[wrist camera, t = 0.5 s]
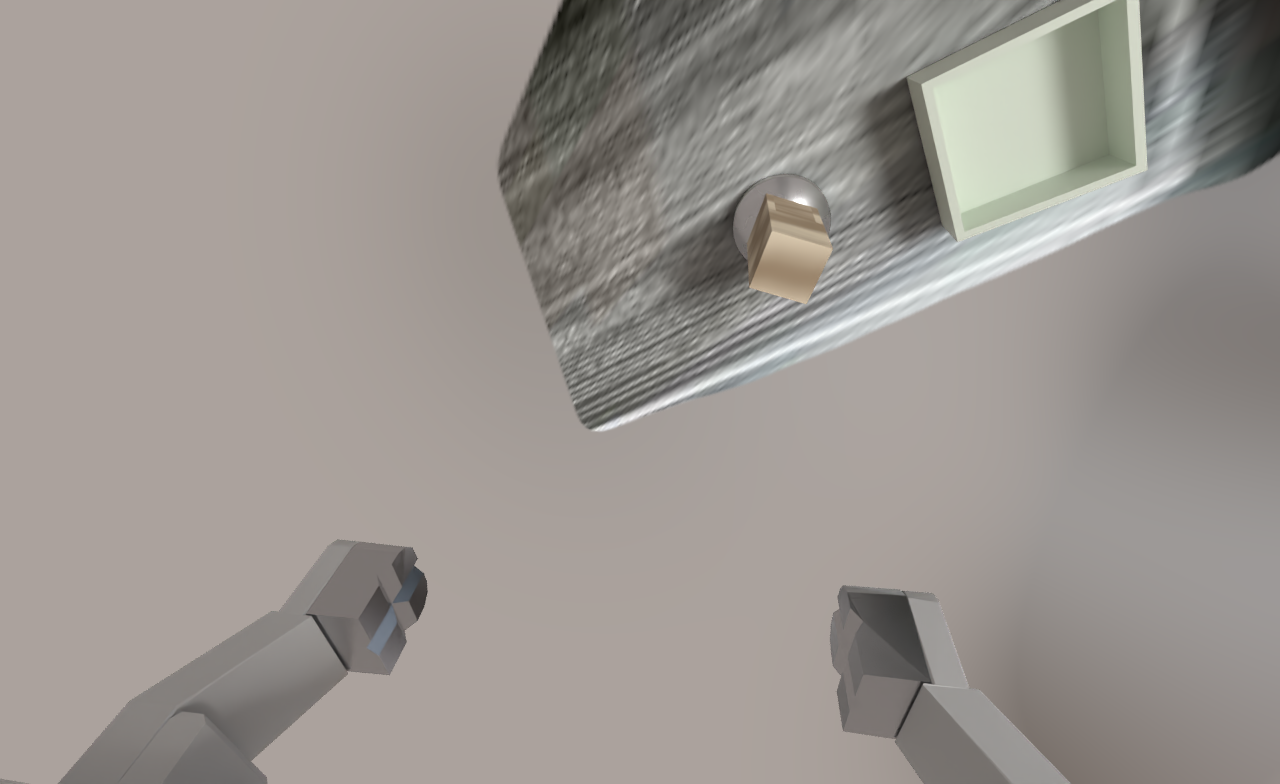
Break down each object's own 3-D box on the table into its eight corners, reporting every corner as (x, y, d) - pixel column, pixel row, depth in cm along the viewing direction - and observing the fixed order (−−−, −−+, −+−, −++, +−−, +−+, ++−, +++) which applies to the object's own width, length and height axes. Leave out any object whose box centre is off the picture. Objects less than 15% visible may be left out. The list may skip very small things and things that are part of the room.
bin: (906, 77, 40) (921, 84, 37) (1101, -20, 36) (1138, -22, 33) (941, 224, 46) (957, 242, 43) (1115, 156, 41) (1147, 170, 38)
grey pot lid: (752, 161, 45) (754, 175, 42) (846, 189, 45) (855, 205, 42) (720, 252, 50) (719, 271, 46) (805, 277, 50) (810, 297, 47)
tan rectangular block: (765, 193, 45) (772, 230, 38) (817, 208, 46) (833, 248, 38) (746, 243, 48) (749, 287, 41) (795, 257, 48) (806, 304, 41)
